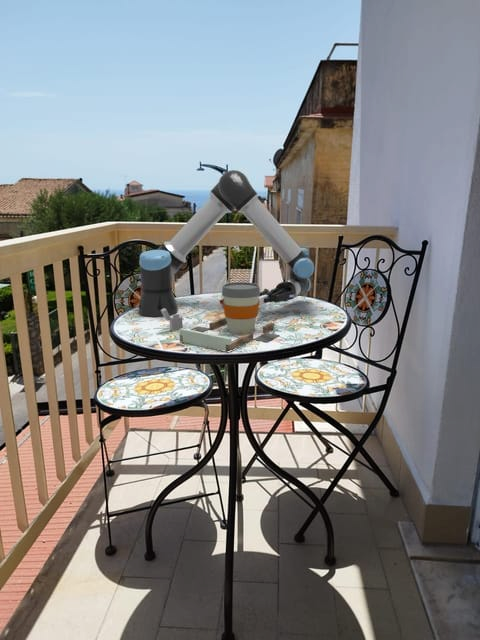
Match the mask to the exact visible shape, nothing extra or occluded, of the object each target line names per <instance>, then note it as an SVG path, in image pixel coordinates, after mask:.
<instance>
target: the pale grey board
mask: <svg viewBox="0 0 480 640" xmlns="http://www.w3.org/2000/svg"><path fill="white" fill-rule="evenodd" d="M178 331H179V336H180V335H183V342H182V343H184V344H188V345H194V346H198V347H202V346H203V347H204V348H207V347H209V348H208V349H211V348H213V350H216V349H219V350H218V351H220V350H225V351H226V345H231V344H232V341H233V339H232V337H230V336H229V337H228V336H224V335H223V336H222V335H219V334H213V333H207V332H198V331H193V330H190V329H188V328H181V329H179V330H178ZM225 351H224V352H225Z"/></svg>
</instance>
